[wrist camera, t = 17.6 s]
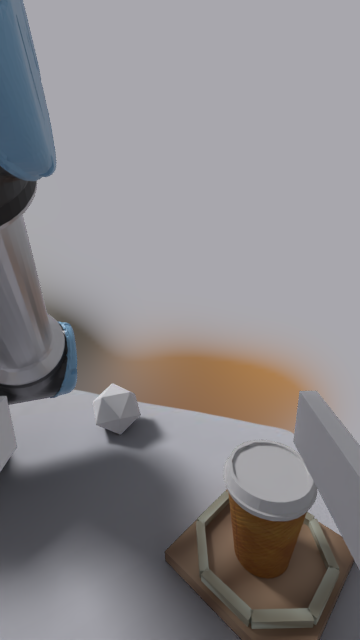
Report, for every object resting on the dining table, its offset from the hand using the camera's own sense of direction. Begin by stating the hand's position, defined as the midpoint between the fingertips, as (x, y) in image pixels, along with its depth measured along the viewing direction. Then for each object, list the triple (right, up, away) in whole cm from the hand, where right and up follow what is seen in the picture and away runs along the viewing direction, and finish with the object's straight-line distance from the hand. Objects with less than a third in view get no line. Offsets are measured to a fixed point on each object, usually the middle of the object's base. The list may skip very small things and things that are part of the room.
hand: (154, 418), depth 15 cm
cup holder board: (+11, -24, +23) cm, 35 cm away
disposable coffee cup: (+11, -22, +23) cm, 34 cm away
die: (-11, -16, +47) cm, 51 cm away
